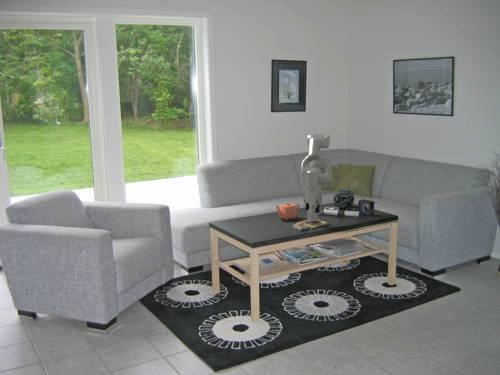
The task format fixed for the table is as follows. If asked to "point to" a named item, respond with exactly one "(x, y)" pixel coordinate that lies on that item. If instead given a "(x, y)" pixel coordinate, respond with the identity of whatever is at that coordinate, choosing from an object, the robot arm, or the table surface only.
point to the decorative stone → (343, 198)
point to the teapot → (288, 211)
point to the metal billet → (312, 217)
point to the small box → (366, 207)
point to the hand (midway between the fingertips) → (312, 211)
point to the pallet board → (315, 224)
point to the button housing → (300, 227)
